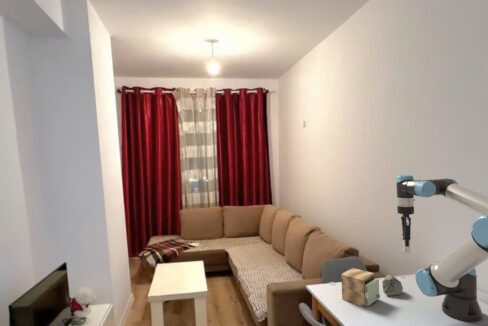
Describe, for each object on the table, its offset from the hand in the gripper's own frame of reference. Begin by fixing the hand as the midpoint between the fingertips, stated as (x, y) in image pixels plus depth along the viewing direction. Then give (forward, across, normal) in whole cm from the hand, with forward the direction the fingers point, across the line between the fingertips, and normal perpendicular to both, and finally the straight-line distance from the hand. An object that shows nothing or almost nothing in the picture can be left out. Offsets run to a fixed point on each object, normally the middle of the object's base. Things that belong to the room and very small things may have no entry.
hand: (406, 252), depth 154 cm
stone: (+25, +7, +7) cm, 26 cm away
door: (+23, -9, +17) cm, 30 cm away
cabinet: (+24, -5, +24) cm, 34 cm away
